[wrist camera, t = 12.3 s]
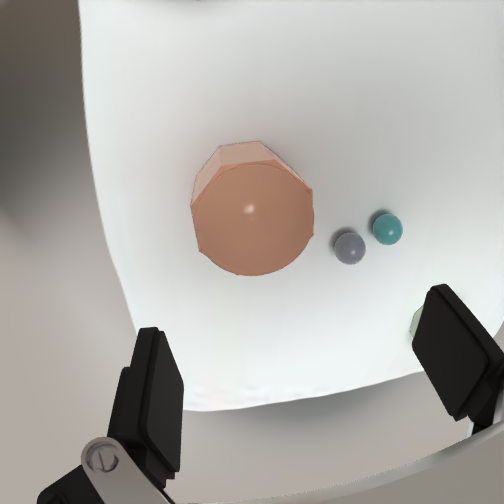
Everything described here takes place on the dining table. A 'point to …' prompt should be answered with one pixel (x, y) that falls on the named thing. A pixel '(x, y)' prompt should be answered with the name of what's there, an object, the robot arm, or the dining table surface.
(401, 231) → the marble
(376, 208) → the dining table surface
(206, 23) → the dining table surface
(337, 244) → the marble
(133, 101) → the dining table surface
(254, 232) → the peach octagonal canister
